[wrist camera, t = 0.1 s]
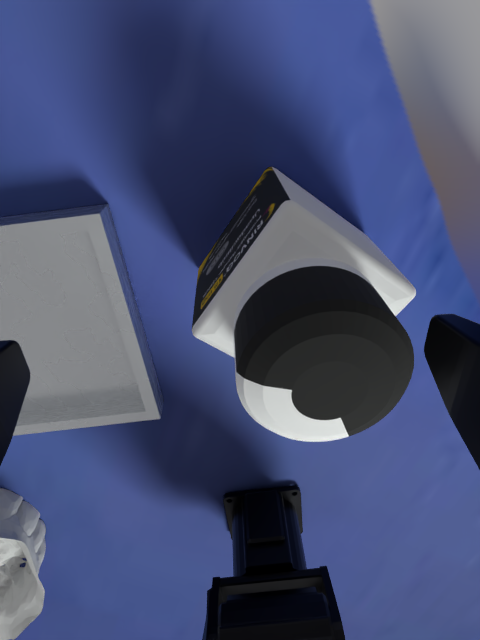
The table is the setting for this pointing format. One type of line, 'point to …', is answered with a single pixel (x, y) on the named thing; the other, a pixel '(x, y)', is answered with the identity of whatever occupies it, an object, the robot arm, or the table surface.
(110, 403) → the tray
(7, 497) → the dental model
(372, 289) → the medicine bottle
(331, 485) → the table surface
